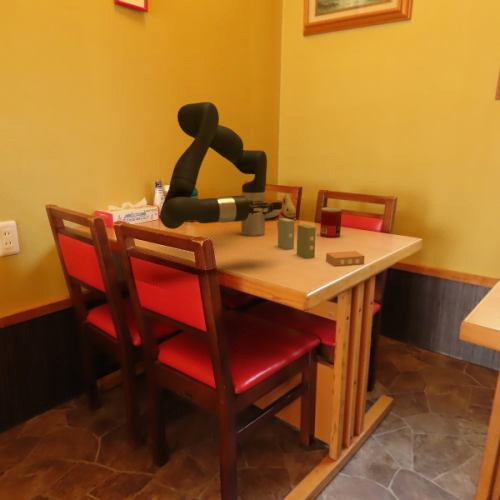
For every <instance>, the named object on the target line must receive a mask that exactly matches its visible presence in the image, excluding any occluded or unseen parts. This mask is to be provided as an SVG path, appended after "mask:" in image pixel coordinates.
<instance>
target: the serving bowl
mask: <svg viewBox="0 0 500 500" xmlns="http://www.w3.org/2000/svg"><path fill="white" fill-rule="evenodd" d="M281 211H282V209H280V210H273V212H271V213H268V214H265V220H269V219H273V218H274V217H276V216H279V214H281Z"/></svg>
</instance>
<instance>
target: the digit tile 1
mask: <svg viewBox="0 0 500 500" xmlns="http://www.w3.org/2000/svg"><path fill="white" fill-rule="evenodd" d="M295 222H296V221H293V220H290V219H287V218H282V219H279V218H278V220H277V223H278V226H277V247H279V248H281V249H284V250H286V251H287V250H289V251H290V250H295Z"/></svg>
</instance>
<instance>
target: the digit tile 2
mask: <svg viewBox="0 0 500 500" xmlns="http://www.w3.org/2000/svg"><path fill="white" fill-rule="evenodd" d="M296 229H297V230H296V231H297V234H296V235H297V236H296V255H297V256H300V257H303V258H304V259H312V258H315V256H316V255H315V253H316V233H317V232H316V231H317V227H315V226H313V225H309V224H306V223H304V224H297V228H296Z"/></svg>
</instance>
